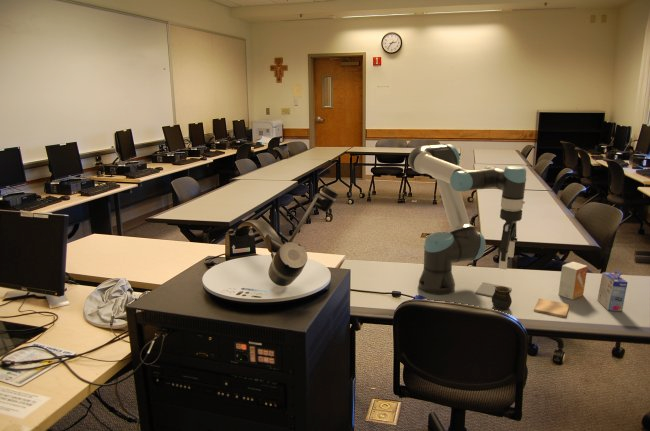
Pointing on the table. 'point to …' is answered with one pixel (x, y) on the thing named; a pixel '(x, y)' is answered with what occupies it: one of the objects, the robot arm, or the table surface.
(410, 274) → the table surface
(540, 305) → the square wooden coaster
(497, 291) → the mate gourd
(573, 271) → the small box
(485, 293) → the felt pad
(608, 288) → the ink cartridge box
